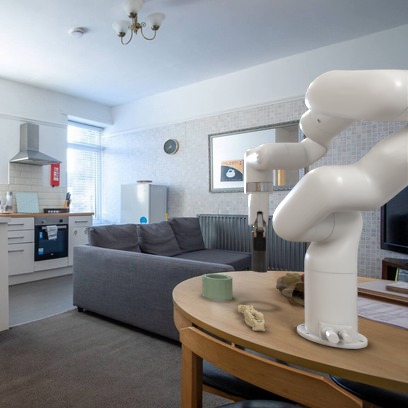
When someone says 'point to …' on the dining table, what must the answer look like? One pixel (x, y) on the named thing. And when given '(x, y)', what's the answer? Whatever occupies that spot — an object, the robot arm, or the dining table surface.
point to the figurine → (292, 287)
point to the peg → (259, 258)
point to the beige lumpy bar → (252, 317)
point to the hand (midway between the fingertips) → (259, 249)
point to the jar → (217, 286)
